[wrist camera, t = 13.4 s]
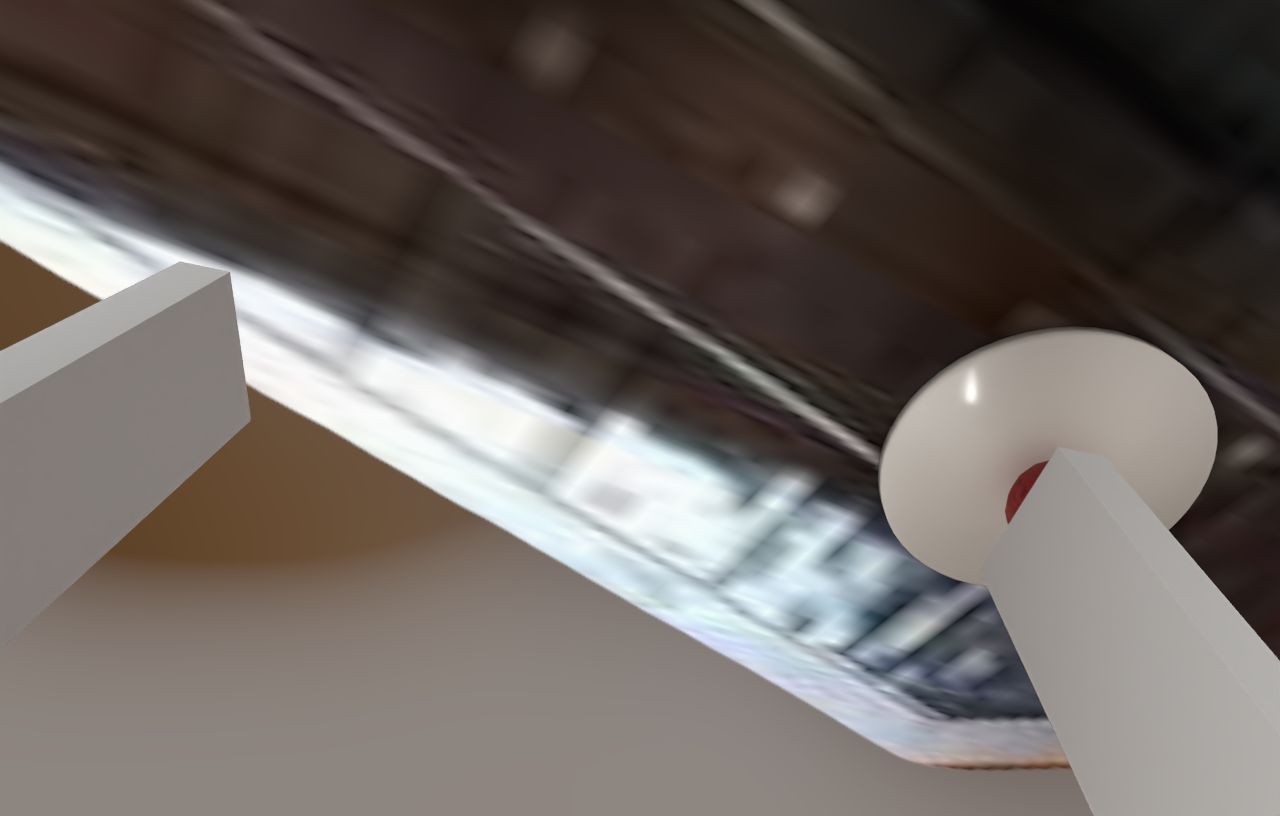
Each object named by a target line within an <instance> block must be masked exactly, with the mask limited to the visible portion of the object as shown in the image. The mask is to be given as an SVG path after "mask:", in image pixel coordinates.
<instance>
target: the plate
mask: <svg viewBox="0 0 1280 816" xmlns="http://www.w3.org/2000/svg"><path fill="white" fill-rule="evenodd" d="M1057 447H1063V448H1068V449H1072V450H1077V451H1082V452H1087V453H1091V454H1096V455H1101V456H1105V457H1106V458H1107V459H1108V460H1109V461H1110V463H1111V464H1112V465H1113V466H1114V467H1115V468H1116V470H1117V471H1118V472H1119V473H1120V474H1121V476H1122V477H1123V478H1124V479H1125V480H1126V481H1127V483H1128V484H1129V485H1130V486H1131V487H1132V488H1133V490H1134V491H1135V492H1136V493H1137V494H1138V495H1139V497H1140V498H1141V499H1142V500H1143V501H1144V502H1145V504H1146V505H1147V506H1148V507H1149V508H1150V509H1151V511H1152V512H1153V513H1154V514H1155V515H1156V517H1157V518H1158V519H1159V520H1160V521H1161V522H1162V524H1163V525H1164V526H1165V527H1166V528H1167V529H1168V530H1169V529H1170V528H1171V527H1172V526H1174V525H1175V524H1176V523H1177V521H1178V520H1179V519H1180V518H1181V517H1182V516H1183V515H1184V514H1185V513H1186V512H1187V510H1188V509H1189V508H1190V507H1191V505H1192V504H1193V502H1194V501H1195V500H1196V498H1197V497H1198V495H1199V494H1200V492H1201V490H1202V488H1203V486H1204V485H1205V483H1206V481H1207V479H1208V477H1209V474H1210V471H1211V468H1212V466H1213V463H1214V459H1215V454H1216V448H1217V423H1216V418H1215V413H1214V409H1213V406H1212V404H1211V402H1210V399H1209V397H1208V395H1207V393H1206V391H1205V390H1204V388H1203V387H1202V386H1201V384H1200V383H1199V381H1198V380H1197V379H1196V378H1195V377H1194V376H1193V375H1192V374H1191V373H1190V372H1189V371H1188V370H1187V369H1186V368H1185V367H1184V366H1183V365H1182V364H1180V363H1179V362H1178V361H1176V360H1175V359H1174V358H1172V357H1171V356H1170V355H1168V354H1167V353H1165V352H1164V351H1162V350H1161V349H1159V348H1158V347H1156V346H1155V345H1153V344H1151V343H1148V342H1146V341H1144V340H1142V339H1140V338H1138V337H1135V336H1132V335H1128V334H1125V333H1122V332H1118V331H1114V330H1108V329H1102V328H1095V327H1073V326H1071V327H1057V328H1046V329H1041V330H1035V331H1030V332H1024V333H1021V334H1017V335H1014V336H1010V337H1007V338H1003V339H1000V340H998V341H995V342H993V343H990V344H988V345H986V346H983V347H981V348H978V349H976V350H975V351H973V352H971V353H969V354H967V355H965V356H963V357H961V358H959V359H958V360H956V361H955V362H953V363H952V364H950V365H949V366H947V367H946V368H944V369H943V370H941V371H940V372H938V373H937V374H936V375H935V376H934V377H933V378H931V379H930V380H929V381H928V382H927V383H925V384H924V385H923V386H922V387H921V388H920V389H919V390H918V391H917V392H916V393H915V394H914V395H913V396H912V398H911V399H910V400H909V401H908V402H907V403H906V405H905V406H904V407H903V409H902V410H901V411H900V413H899V414H898V415H897V417H896V419H895V421H894V422H893V424H892V426H891V428H890V430H889V431H888V434H887V436H886V439H885V441H884V444H883V447H882V450H881V455H880V459H879V464H878V488H879V495H880V499H881V502H882V505H883V509H884V512H885V515H886V518H887V520H888V522H889V524H890V526H891V529H892V531H893V533H894V534H895V536H896V537H897V538H898V540H899V541H900V542H901V544H902V545H903V546H904V547H905V548H906V549H907V550H908V551H909V552H910V553H911V554H912V555H913V556H914V557H915V558H917V559H918V560H919V561H921V562H922V563H923V564H925V565H926V566H928V567H930V568H932V569H933V570H935V571H937V572H939V573H941V574H943V575H946V576H948V577H951V578H953V579H956V580H960V581H963V582H967V583H970V584H975V585H981V586H987V585H986V583H985V581H984V579H983V577H982V575H981V573H980V568H981V567H982V565H983V564H984V562H985V561H986V559H987V557H988V556H989V554H990V553H991V551H992V550H993V548H994V546H995V545H996V543H997V542H998V540H999V539H1000V537H1001V535H1002V534H1003V532H1004V531H1005V529H1006V528H1007V526H1008V523H1007V519H1006V514H1005V508H1006V503H1007V498H1008V494H1009V492H1010V489H1011V488H1012V486H1013V484H1014V483H1015V481H1016V480H1017V478H1018V477H1019V475H1021V474H1022V473H1023V472H1025V471H1026V470H1028V469H1029V468H1030V467H1032V466H1033V465H1035V464H1037V463H1041V462H1045V461H1048V460H1050V458H1051V457H1052V455H1053V454H1054V452H1055V451H1056V449H1057Z"/></svg>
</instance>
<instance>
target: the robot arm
mask: <svg viewBox="0 0 1280 816" xmlns="http://www.w3.org/2000/svg"><path fill="white" fill-rule="evenodd" d="M250 420H251V417H250V409H249V402H248V395H247V388H246V381H245V374H244V367H243V360H242V353H241V346H240V339H239V332H238V325H237V318H236V312H235V305H234V298H233V291H232V284H231V277H230V272H227V271H222V270H218V269H213V268H208V267H203V266H199V265H194V264H189V263H184V262H178V263H176V264H174V265H172V266H170V267H168V268H166V269H164V270H162V271H160V272H158V273H156V274H154V275H152V276H150V277H148V278H146V279H144V280H142V281H140V282H138V283H136V284H134V285H132V286H130V287H128V288H126V289H124V290H122V291H120V292H118V293H116V294H114V295H112V296H110V297H108V298H106V299H104V300H102V301H100V302H98V303H96V304H94V305H92V306H90V307H88V308H86V309H84V310H82V311H80V312H78V313H76V314H74V315H72V316H70V317H68V318H66V319H64V320H62V321H60V322H58V323H56V324H54V325H52V326H50V327H48V328H46V329H44V330H42V331H40V332H38V333H36V334H34V335H32V336H30V337H28V338H26V339H24V340H22V341H20V342H18V343H16V344H14V345H12V346H10V347H8V348H6V349H4V350H2V351H0V650H1V649H2V648H3V647H4V646H6V645H7V644H8V643H9V642H10V641H11V640H12V639H13V638H14V637H15V636H16V635H17V634H18V633H20V632H21V631H22V630H23V629H24V628H25V627H26V626H27V625H28V624H29V623H30V622H31V621H33V620H34V619H35V618H36V617H37V616H38V615H39V614H40V613H41V612H43V611H44V610H45V609H46V608H47V607H48V606H49V605H50V604H51V603H52V602H53V601H54V600H56V599H57V598H58V597H59V596H60V595H61V594H62V593H63V592H64V591H65V590H66V589H68V588H69V587H70V586H71V585H72V584H73V583H74V582H75V581H76V580H77V579H78V578H80V577H81V576H82V575H83V574H84V573H85V572H86V571H87V570H88V569H89V568H90V567H92V566H93V565H94V564H95V563H96V562H97V561H98V560H99V559H100V558H101V557H102V556H103V555H105V554H106V553H107V552H108V551H109V550H110V549H111V548H112V547H113V546H114V545H115V544H117V543H118V542H119V541H120V540H121V539H122V538H123V537H124V536H125V535H126V534H127V533H128V532H130V530H132V529H133V528H134V527H135V526H136V525H137V524H138V523H139V522H140V521H142V520H143V519H144V518H145V517H146V516H147V515H148V514H149V513H150V512H151V511H152V510H154V509H155V508H156V507H157V506H158V505H159V504H160V503H161V502H162V501H163V500H164V499H166V498H167V497H168V496H169V495H170V494H171V493H172V492H173V491H174V490H175V489H176V488H178V487H179V486H180V485H181V484H182V483H183V482H184V481H185V480H186V479H187V478H188V477H190V476H191V475H192V474H193V473H194V472H195V471H196V470H197V469H198V468H199V467H200V466H201V465H203V464H204V463H205V462H206V461H207V460H208V459H209V458H210V457H211V456H212V455H213V454H214V453H215V452H217V451H218V450H219V449H220V448H221V447H222V446H223V445H224V444H225V443H226V442H228V441H229V440H230V439H231V438H232V437H233V436H234V435H235V434H236V433H237V432H238V431H239V430H241V429H242V428H243V427H244V426H245V425H246V424H247V423H248V422H249V421H250ZM980 573H981V575H982V577H983V579H984V581H985V583H986V585H987V588H988V590H989V592H990V594H991V596H992V598H993V601H994V603H995V605H996V607H997V609H998V611H999V613H1000V616H1001V618H1002V620H1003V622H1004V624H1005V626H1006V628H1007V631H1008V633H1009V635H1010V637H1011V639H1012V641H1013V644H1014V646H1015V648H1016V650H1017V652H1018V654H1019V656H1020V659H1021V661H1022V663H1023V665H1024V667H1025V669H1026V672H1027V674H1028V676H1029V678H1030V680H1031V682H1032V684H1033V687H1034V689H1035V691H1036V693H1037V695H1038V697H1039V699H1040V702H1041V704H1042V706H1043V708H1044V710H1045V712H1046V715H1047V717H1048V719H1049V721H1050V723H1051V725H1052V727H1053V730H1054V732H1055V734H1056V736H1057V738H1058V740H1059V742H1060V745H1061V747H1062V749H1063V751H1064V753H1065V755H1066V758H1067V760H1068V762H1069V764H1070V766H1071V768H1072V770H1073V772H1074V775H1075V777H1076V779H1077V781H1078V783H1079V785H1080V788H1081V790H1082V792H1083V794H1084V796H1085V798H1086V801H1087V802H1088V805H1089V807H1090V809H1091V811H1092V813H1093V816H1280V661H1279V659H1278V658H1277V657H1276V656H1275V655H1274V654H1273V652H1272V651H1271V650H1270V649H1269V648H1268V647H1267V645H1266V644H1265V643H1264V642H1263V641H1262V640H1261V638H1260V637H1259V636H1258V635H1257V634H1256V633H1255V631H1254V630H1253V629H1252V628H1251V627H1250V626H1249V624H1248V623H1247V622H1246V621H1245V620H1244V618H1243V617H1242V616H1241V615H1240V614H1239V613H1238V611H1237V610H1236V609H1235V608H1234V607H1233V606H1232V604H1231V603H1230V602H1229V601H1228V600H1227V599H1226V597H1225V596H1224V595H1223V594H1222V593H1221V592H1220V590H1219V589H1218V588H1217V587H1216V586H1215V584H1214V583H1213V582H1212V581H1211V580H1210V579H1209V577H1208V576H1207V575H1206V574H1205V573H1204V572H1203V570H1202V569H1201V568H1200V567H1199V566H1198V565H1197V563H1196V562H1195V561H1194V560H1193V559H1192V558H1191V556H1190V555H1189V554H1188V553H1187V552H1186V551H1185V549H1184V548H1183V547H1182V546H1181V545H1180V543H1179V542H1178V541H1177V540H1176V539H1175V538H1174V536H1173V535H1172V534H1171V533H1170V532H1169V531H1168V529H1167V528H1166V527H1165V526H1164V525H1163V524H1162V522H1161V521H1160V520H1159V519H1158V518H1157V517H1156V515H1155V514H1154V513H1153V512H1152V511H1151V509H1150V508H1149V507H1148V506H1147V505H1146V504H1145V502H1144V501H1143V500H1142V499H1141V498H1140V497H1139V495H1138V494H1137V493H1136V492H1135V491H1134V490H1133V488H1132V487H1131V486H1130V485H1129V484H1128V483H1127V481H1126V480H1125V479H1124V478H1123V477H1122V476H1121V474H1120V473H1119V472H1118V471H1117V470H1116V468H1115V467H1114V466H1113V465H1112V464H1111V463H1110V461H1109V460H1108V459H1107V458H1106V457H1105V456H1101V455H1096V454H1091V453H1087V452H1082V451H1077V450H1072V449H1068V448H1063V447H1057V449H1056V451H1055V452H1054V454H1053V455H1052V457H1051V458H1050V460H1049V462H1048V463H1047V465H1046V466H1045V468H1044V469H1043V471H1042V473H1041V474H1040V476H1039V477H1038V479H1037V480H1036V482H1035V484H1034V485H1033V487H1032V488H1031V490H1030V491H1029V493H1028V495H1027V496H1026V498H1025V499H1024V501H1023V502H1022V504H1021V506H1020V507H1019V509H1018V510H1017V512H1016V513H1015V515H1014V517H1013V518H1012V520H1011V521H1010V523H1009V524H1008V526H1007V528H1006V529H1005V531H1004V532H1003V534H1002V535H1001V537H1000V539H999V540H998V542H997V543H996V545H995V546H994V548H993V550H992V551H991V553H990V554H989V556H988V557H987V559H986V561H985V562H984V564H983V565H982V567H981V568H980Z"/></svg>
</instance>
